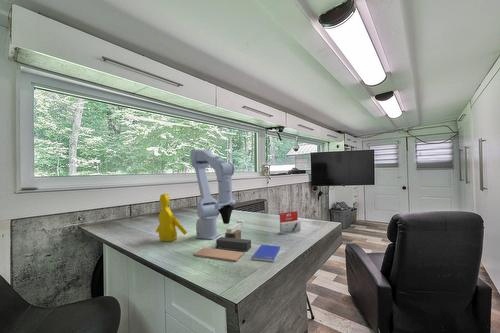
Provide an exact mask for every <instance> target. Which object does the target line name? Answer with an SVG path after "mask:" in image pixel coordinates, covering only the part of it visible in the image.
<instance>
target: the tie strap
mask: <svg viewBox="0 0 500 333" xmlns="http://www.w3.org/2000/svg"><path fill="white" fill-rule="evenodd" d="M244 227H245V220H244V219H238V220H236V223H234V224H232V225H231V226H229V227H228V226H227V228H226V232H227V233H230V234H232V233H233V232H235V231H237V230H241V228H244Z"/></svg>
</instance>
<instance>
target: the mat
mask: <svg viewBox="0 0 500 333" xmlns="http://www.w3.org/2000/svg"><path fill="white" fill-rule="evenodd" d="M192 255H193V256H194V257H200V258H208V259H215V260H224V261H231V262H235V263H236V262H238V261H239V260H240V259H241V258H242V257H243V256H244V255H245V251H237V250H229V249H221V248H218V249H217V248H210V247H203V248H201V249H199V250H198V251H196V252H194V253H193V254H192Z"/></svg>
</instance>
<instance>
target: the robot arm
mask: <svg viewBox="0 0 500 333" xmlns="http://www.w3.org/2000/svg"><path fill="white" fill-rule="evenodd" d="M220 157H221V156H219V155H216V156H215V155H213V151H212V150H211V149H200V148H199V149H198V148H197V149H196V148H193V149H191V151H190V155H189V158H190V159H189V160H190V162H191V166H192V167H193V169H194V170H195V175H196V179H197V184H198V189H199V190H198V191H199V194H200V198H201V199H200V201H198V202H197V205H196V208H197V209H196V210H197V211H196V212H197V213H196V214H197V216H198V219H197V220H196V222H195V225H196V226H195V229H196V232H195V233H196V236H195V238H196V239H205V240H213V239H215V238H217V237H218V236H220V235H221V233H219V232H218V229H217V228H218V226H217V225H218V224H217V218H218V216H221V219H222V223H223V224H224V225H229V224H230V222H231V217H232V216H231V215H232V213H233V210H234V209H235V208H234V207H235V206H234V205H235V204H236V199H233V186H232V185H233V184H232V183H233V182H232V177H233V175H234V173H235V172H234V171H235V168H234V165H233V164H232V162H226V161H225V160H224V159H223V158H220ZM209 166H210V168H211V169H213V171H214V172H215V176H216V180H217V186H218V187H217V188H218V190H217V191H218V200H217V199H215V198H213V197H212V194H211V193H212V192H211V189H210V185H209V180H208V175H207V171H206V168H208V167H209ZM217 232H218V233H217Z"/></svg>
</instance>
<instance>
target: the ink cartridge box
mask: <svg viewBox="0 0 500 333" xmlns="http://www.w3.org/2000/svg"><path fill="white" fill-rule="evenodd" d="M288 214H290V215H288ZM287 215H288V216H287ZM300 230H301V220H299V218H298V211H297V210H296V211H289V212H281V213H279V233H280V234H281V235H285V234H290V233H295V232H296V231H297V232H301V231H300Z"/></svg>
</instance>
